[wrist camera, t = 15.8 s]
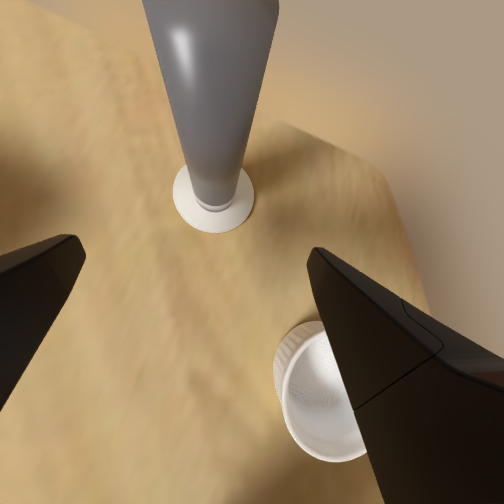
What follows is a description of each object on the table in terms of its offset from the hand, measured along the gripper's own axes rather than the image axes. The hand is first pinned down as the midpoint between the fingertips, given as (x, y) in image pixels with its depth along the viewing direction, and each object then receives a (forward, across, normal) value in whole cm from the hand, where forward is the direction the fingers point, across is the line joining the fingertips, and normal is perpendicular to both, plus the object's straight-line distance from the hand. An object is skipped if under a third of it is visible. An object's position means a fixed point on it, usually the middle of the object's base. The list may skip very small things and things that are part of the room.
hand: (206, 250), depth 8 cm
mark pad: (+11, 0, +2) cm, 11 cm away
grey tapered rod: (+11, 0, +2) cm, 11 cm away
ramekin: (+1, -10, +13) cm, 16 cm away
